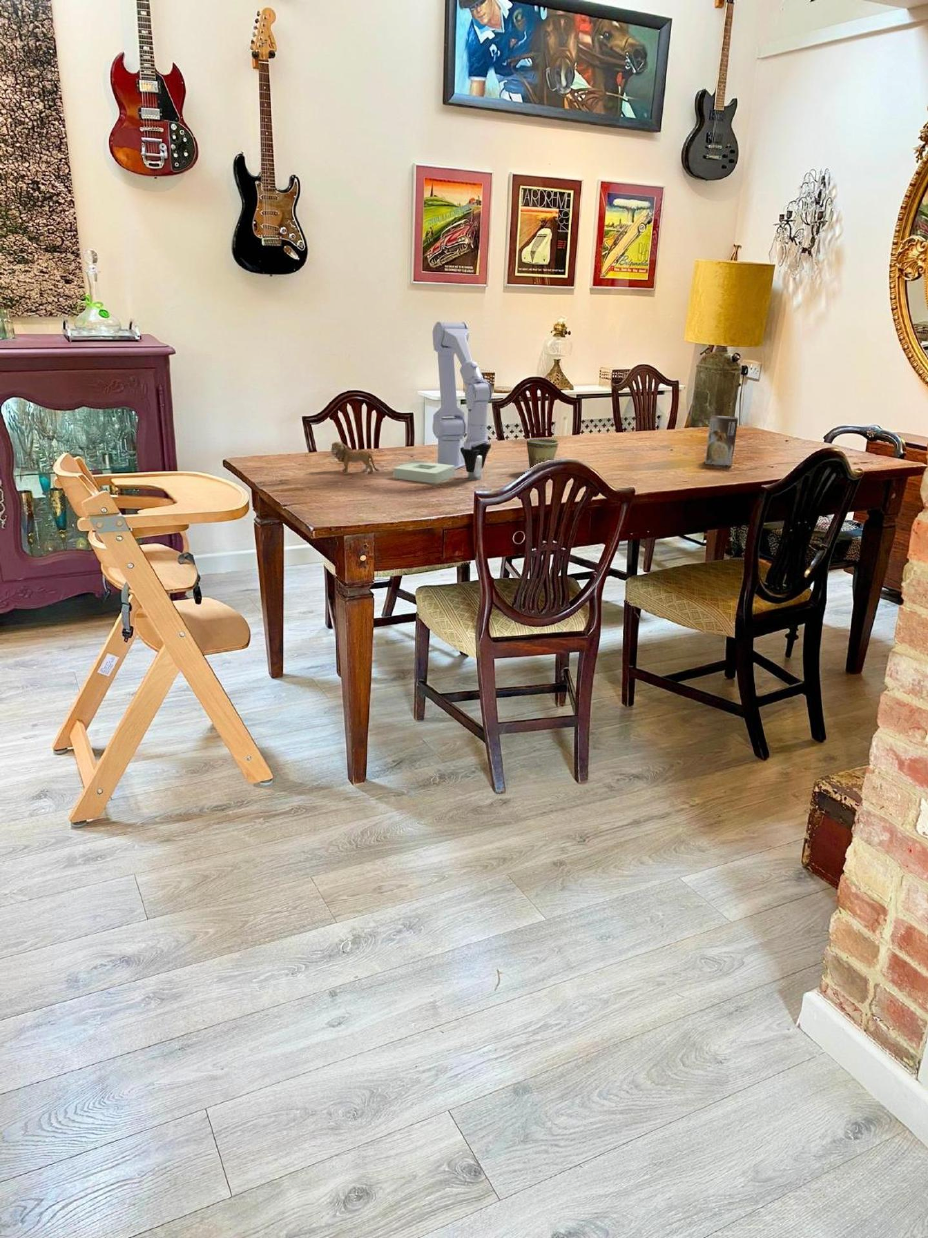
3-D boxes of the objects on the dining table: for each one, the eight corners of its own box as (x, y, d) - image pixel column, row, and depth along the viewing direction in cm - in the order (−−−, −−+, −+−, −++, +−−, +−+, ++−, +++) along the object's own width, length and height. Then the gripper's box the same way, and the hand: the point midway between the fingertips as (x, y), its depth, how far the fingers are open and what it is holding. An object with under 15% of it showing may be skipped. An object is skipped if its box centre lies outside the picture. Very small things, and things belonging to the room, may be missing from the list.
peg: (470, 476, 267) (471, 453, 265) (483, 478, 266) (484, 455, 264) (465, 478, 264) (466, 455, 261) (478, 480, 263) (479, 457, 260)
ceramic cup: (554, 476, 272) (556, 444, 269) (522, 474, 274) (524, 442, 270) (558, 468, 284) (560, 437, 281) (528, 466, 286) (530, 435, 282)
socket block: (413, 469, 273) (414, 460, 272) (454, 475, 268) (455, 465, 267) (393, 477, 261) (393, 467, 260) (435, 483, 256) (436, 473, 255)
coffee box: (731, 463, 306) (738, 416, 301) (731, 466, 301) (739, 419, 295) (704, 460, 308) (710, 414, 302) (704, 464, 302) (711, 417, 297)
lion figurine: (330, 472, 265) (329, 442, 262) (332, 468, 270) (332, 439, 267) (378, 474, 265) (378, 444, 262) (380, 470, 270) (380, 441, 267)
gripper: (480, 428, 251) (478, 475, 256) (498, 422, 264) (495, 467, 269) (457, 426, 254) (456, 472, 259) (476, 420, 266) (474, 464, 271)
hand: (474, 469), depth 264 cm, fingers open, 7 cm apart
